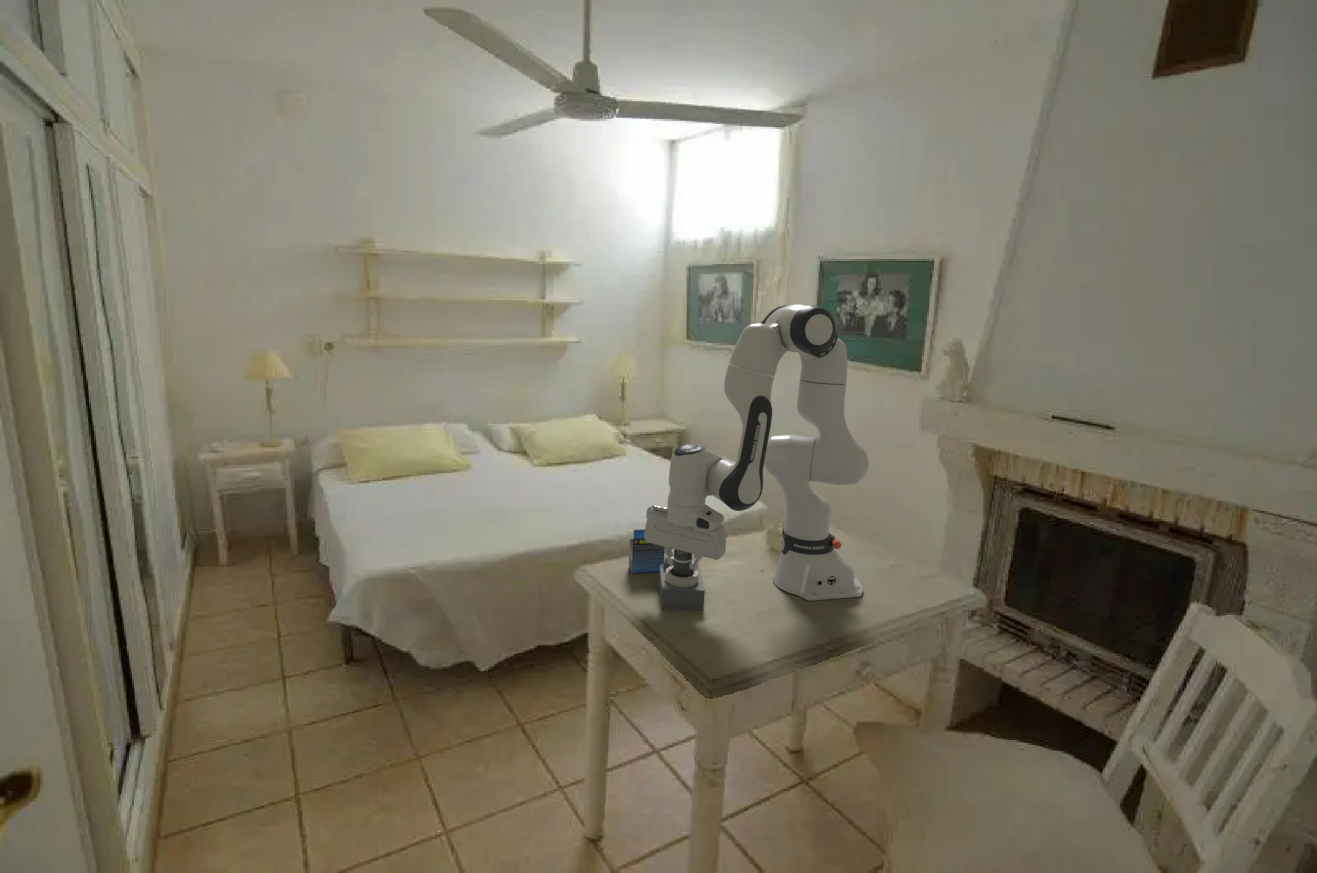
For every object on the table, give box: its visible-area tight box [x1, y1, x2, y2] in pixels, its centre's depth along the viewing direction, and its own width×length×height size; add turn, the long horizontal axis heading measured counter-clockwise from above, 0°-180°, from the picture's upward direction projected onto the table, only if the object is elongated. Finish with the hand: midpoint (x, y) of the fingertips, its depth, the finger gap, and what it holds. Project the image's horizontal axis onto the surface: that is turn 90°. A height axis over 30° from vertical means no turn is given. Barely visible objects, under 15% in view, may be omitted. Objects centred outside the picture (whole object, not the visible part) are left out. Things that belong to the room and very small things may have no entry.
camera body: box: [658, 556, 706, 611], centre depth 161 cm, size 10×14×8 cm
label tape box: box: [628, 528, 666, 574], centre depth 174 cm, size 9×4×12 cm, turn 105°
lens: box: [673, 549, 693, 577], centre depth 159 cm, size 4×4×7 cm
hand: (682, 566), depth 159 cm, fingers closed on lens, 4 cm apart
